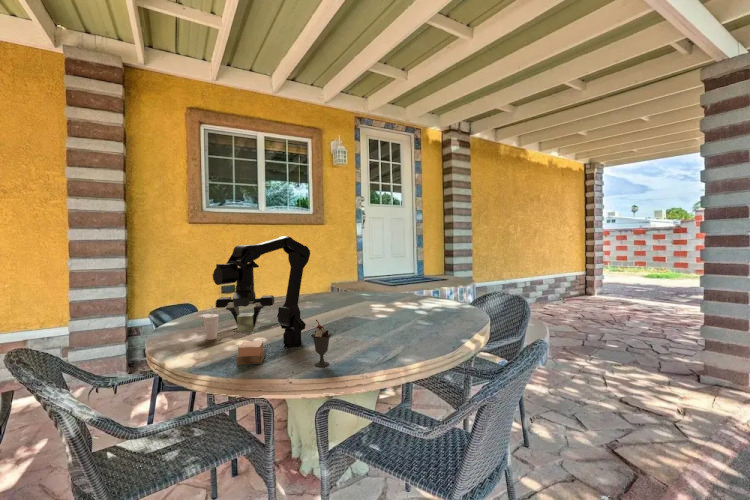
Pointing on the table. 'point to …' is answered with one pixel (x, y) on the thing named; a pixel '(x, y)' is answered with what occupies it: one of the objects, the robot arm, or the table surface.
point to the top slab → (250, 348)
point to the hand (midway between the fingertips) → (246, 325)
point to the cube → (245, 322)
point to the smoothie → (211, 325)
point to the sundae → (321, 344)
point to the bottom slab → (251, 359)
